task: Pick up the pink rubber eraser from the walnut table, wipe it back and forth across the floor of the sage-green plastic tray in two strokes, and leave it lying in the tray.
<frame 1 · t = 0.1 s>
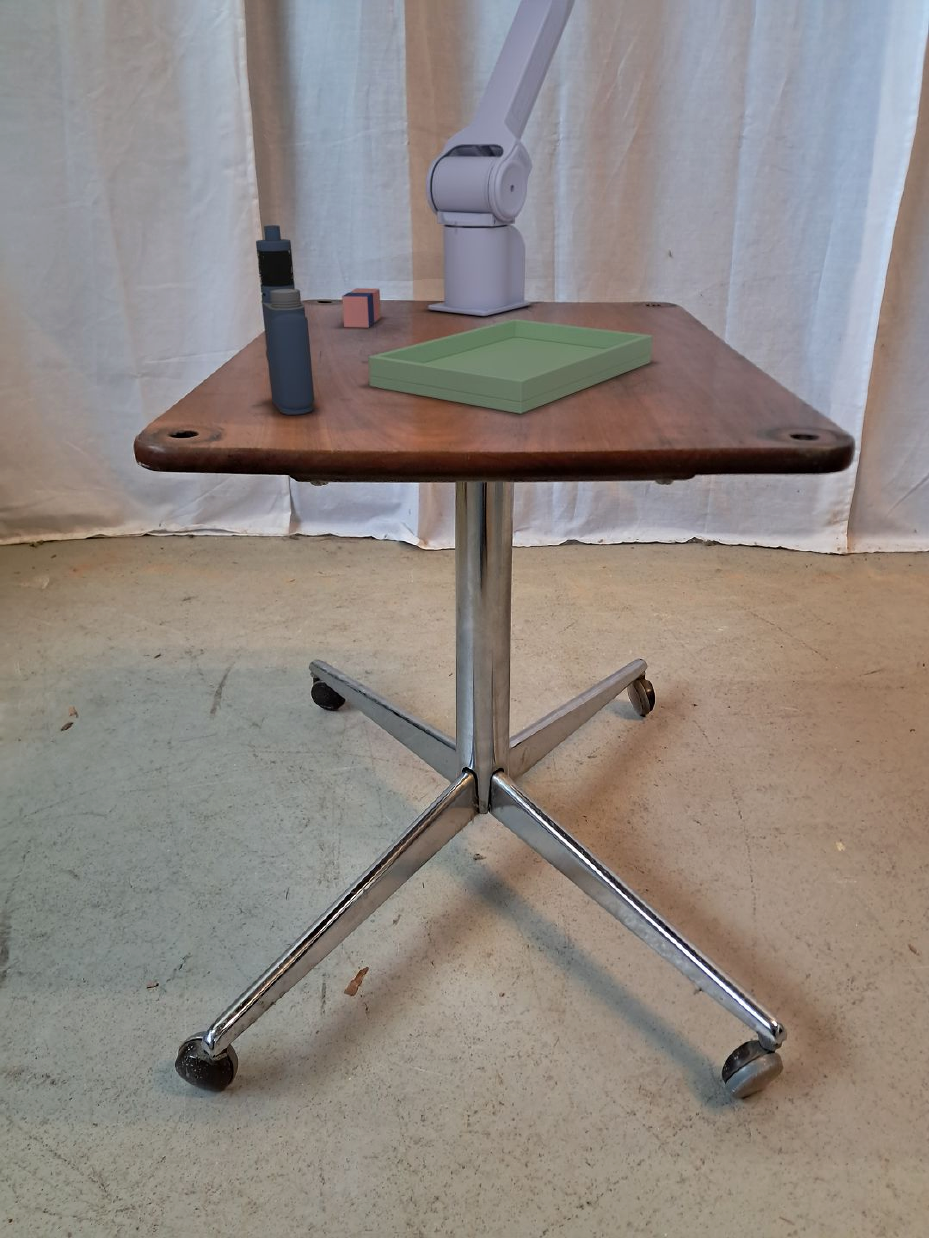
eraser: (362, 322, 97), on the table
vaping device: (293, 409, 66), on the table
tray: (516, 374, 75), on the table
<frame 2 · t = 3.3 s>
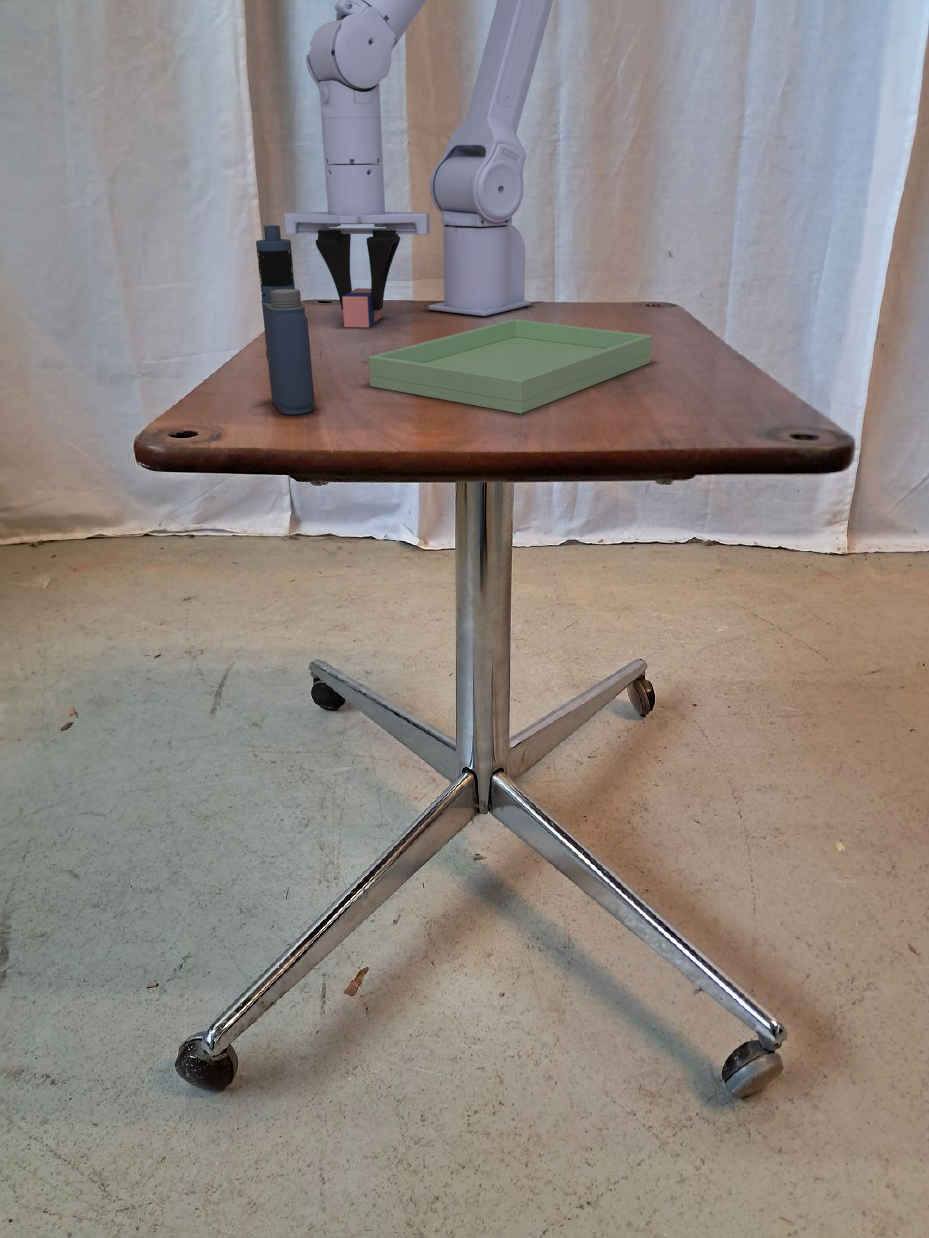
hand: (362, 309, 96), 1 cm above the table, tool pointing down, fingers closed on eraser, 3 cm apart
eraser: (363, 322, 97), on the table, touching gripper
everything else where it was.
when the fingers open (2 cm above the table, at t = 9.8 s): eraser stays where it is, resting on tray.
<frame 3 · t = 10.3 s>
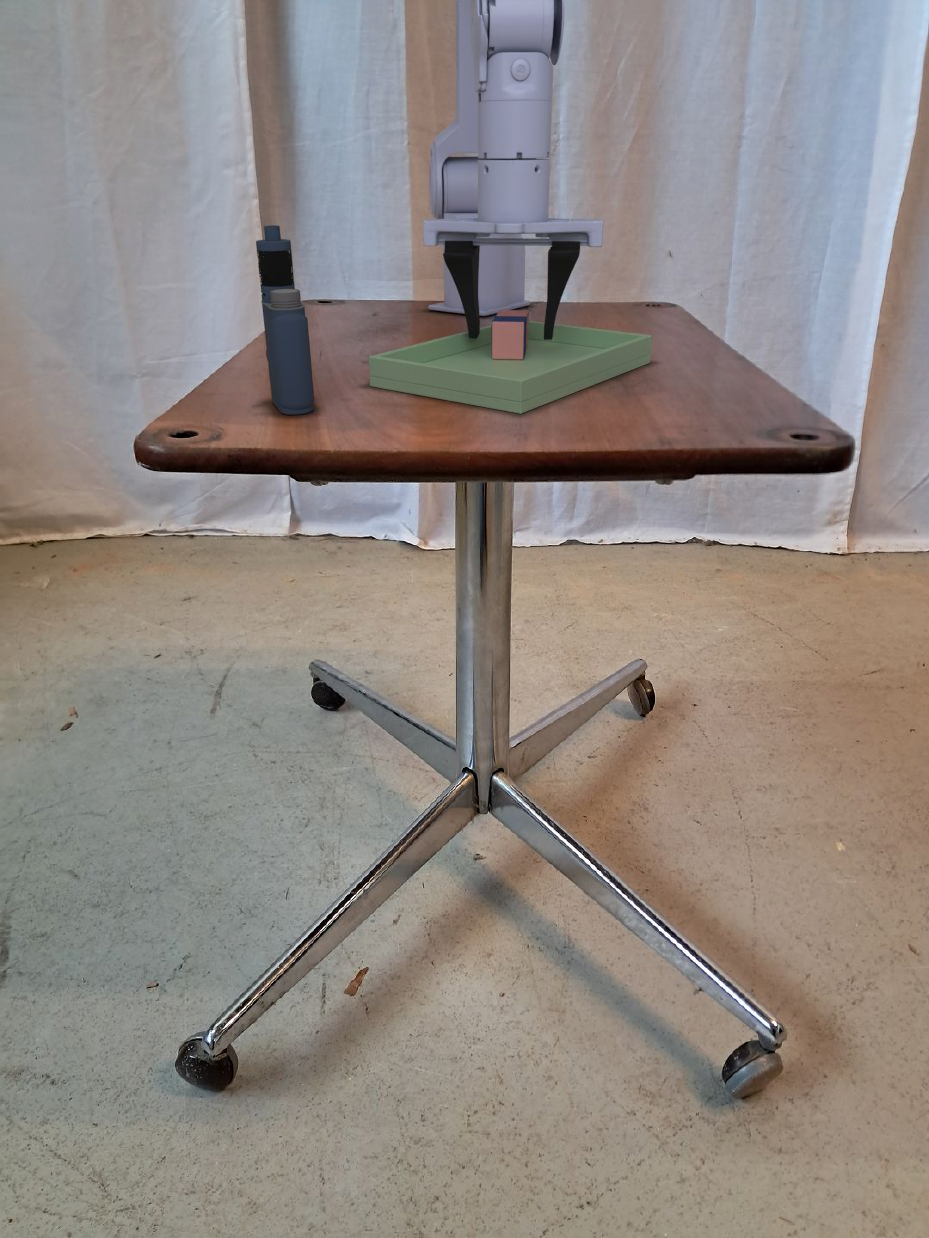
hand: (511, 337, 78), 2 cm above the table, tool pointing down, fingers open, 6 cm apart
eraser: (510, 352, 79), point 1 cm above the table, touching tray
everything else where it was.
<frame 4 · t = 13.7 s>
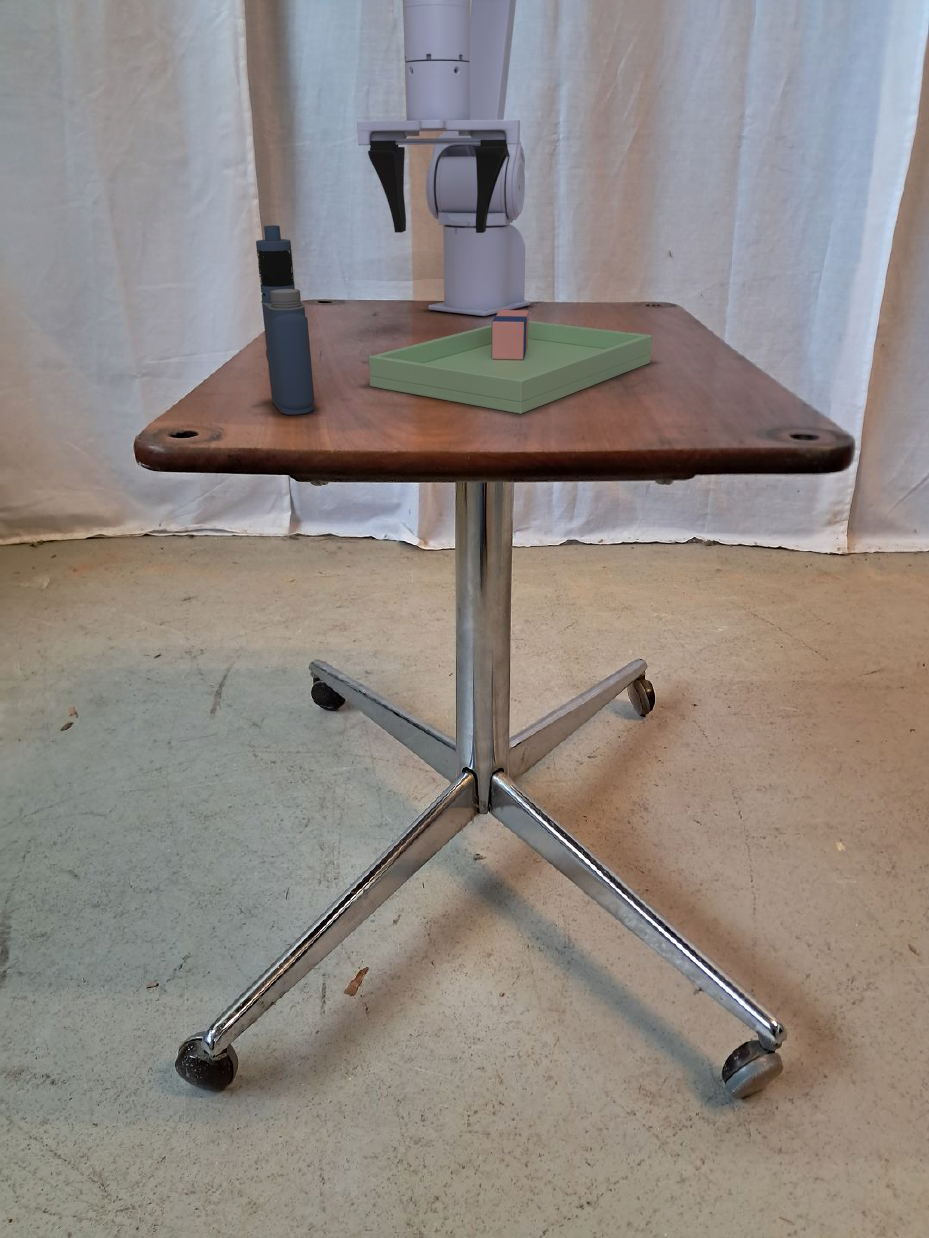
hand: (440, 232, 86), 9 cm above the table, tool pointing down, fingers open, 7 cm apart
nothing on the table moved.
at the end: eraser moved 24.6 cm from its start; eraser inside the target area in the tray (4.6 cm from its centre), point 0.8 cm above the tray's base; the gripper is holding nothing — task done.
